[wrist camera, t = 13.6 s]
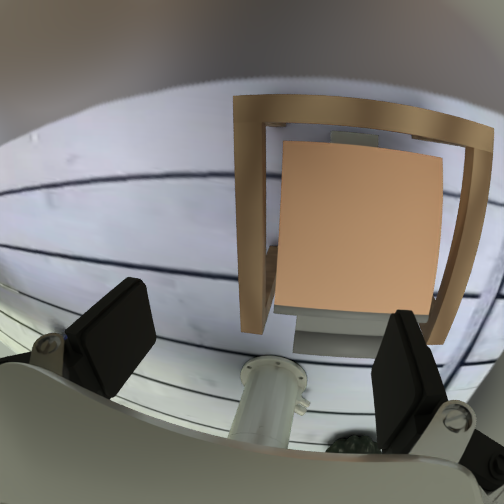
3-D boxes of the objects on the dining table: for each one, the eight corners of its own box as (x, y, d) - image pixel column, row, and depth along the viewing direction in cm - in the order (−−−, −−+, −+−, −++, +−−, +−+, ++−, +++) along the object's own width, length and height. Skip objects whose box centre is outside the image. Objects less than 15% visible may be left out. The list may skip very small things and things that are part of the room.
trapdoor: (435, 161, 21) (445, 156, 18) (412, 352, 23) (419, 363, 21) (285, 145, 23) (282, 138, 21) (273, 343, 26) (269, 355, 24)
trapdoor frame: (426, 125, 28) (494, 128, 13) (407, 269, 36) (443, 344, 22) (270, 111, 32) (232, 95, 17) (269, 259, 40) (240, 332, 26)
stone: (368, 174, 32) (370, 134, 30) (376, 180, 28) (378, 135, 26) (329, 170, 33) (330, 131, 31) (331, 176, 29) (332, 130, 27)
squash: (334, 475, 56) (363, 502, 42) (302, 458, 54) (332, 489, 40) (368, 438, 60) (403, 460, 46) (341, 417, 58) (378, 441, 44)
